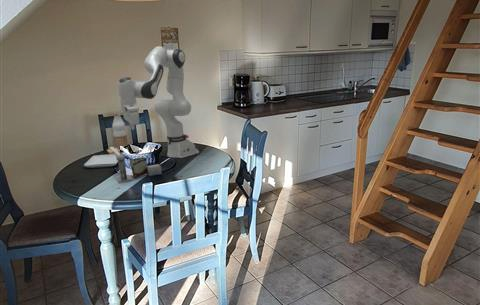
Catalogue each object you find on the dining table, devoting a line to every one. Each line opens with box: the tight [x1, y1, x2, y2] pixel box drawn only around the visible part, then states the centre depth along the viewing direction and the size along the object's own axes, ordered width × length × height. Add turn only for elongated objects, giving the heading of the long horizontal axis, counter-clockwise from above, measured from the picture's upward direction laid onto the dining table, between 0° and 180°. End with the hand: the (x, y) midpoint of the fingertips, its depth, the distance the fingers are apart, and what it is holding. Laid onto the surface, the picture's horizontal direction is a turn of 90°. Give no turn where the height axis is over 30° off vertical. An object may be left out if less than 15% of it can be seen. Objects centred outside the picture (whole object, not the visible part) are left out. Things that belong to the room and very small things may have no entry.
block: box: [146, 163, 163, 177], centre depth 226 cm, size 8×5×5 cm, turn 116°
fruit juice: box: [111, 112, 129, 150], centre depth 272 cm, size 9×9×28 cm
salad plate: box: [83, 153, 118, 169], centre depth 250 cm, size 21×21×3 cm
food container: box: [129, 157, 148, 179], centre depth 224 cm, size 12×6×10 cm, turn 149°
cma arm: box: [106, 146, 126, 160], centre depth 223 cm, size 24×6×2 cm, turn 32°
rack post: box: [115, 159, 133, 184], centre depth 217 cm, size 8×8×13 cm
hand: (132, 129), depth 220 cm, fingers closed
